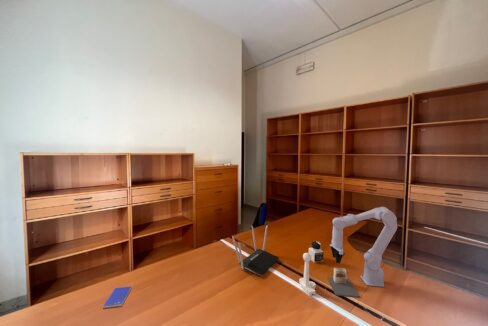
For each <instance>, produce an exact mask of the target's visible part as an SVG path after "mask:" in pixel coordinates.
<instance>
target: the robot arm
mask: <svg viewBox="0 0 488 326" xmlns="http://www.w3.org/2000/svg"><path fill="white" fill-rule="evenodd" d="M369 219H376V220H378V221H380V220H381V221H382V223H383V225H384V226H383V228H382V230H381V232H380V234H379V235H378V236H377V239H376V240H375V242H374V243H373V246H372V247H371V248H369V249H368V251H366V252H364V254H363V259H364V260H365V261H364V265H363V275H360V279H361V280H362V282H364V284H365V285H366V286H369V287H370V286H371V287H381V288H382V287H385V272H384V269H383V268H382V267H381V263H382V260H383V258H382V257H383V256H382V255H383V254H384V252H385V250H386V249H387V247H388V245H389V243H390V241H391V240H392V238H393V236H394V235H395V233H396V232H397V229H398V222H397V221H398V220H397V219H398V218H397V216H396V215H395V213H394V212H393V211H391V210H390V209H389V208H387V207H386V206H379V207H374V208H373V209H369V210H368V211H364V212H360V213H358V214H353V213H347V215H344V216H339V217H334V218H333V219H332V238H331V243H330V244H329V247H330V249H331V254H332V258H334V259H335V262H336V263H337V264H341V262H342V258H343V257H344V256H345V252H344V247H343V245H344V244H343V242H344V240H343V239H344V228H347V227H349V226H354V225H357V224H358V223H359V222H360V221H363V220H369Z"/></svg>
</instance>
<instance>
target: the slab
mask: <svg viewBox="0 0 488 326" xmlns="http://www.w3.org/2000/svg"><path fill="white" fill-rule="evenodd" d="M347 274H348V273H347V270H346V268H345V267H344V268H341V267H333V277H332V278H333V280H334V282H335V283H345V284H346V279H347Z"/></svg>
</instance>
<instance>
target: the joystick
mask: <svg viewBox="0 0 488 326" xmlns="http://www.w3.org/2000/svg"><path fill="white" fill-rule="evenodd" d="M302 259H303V261H304V269H303V277H300V278H299V280H298V282H299V285H300V288H301V290H302V291H303V292H304V293H305V294H306V295H307V296H309V297H311V296H313V295H316V290H315V289H316V283H315V282H313V281H311V280H310V262H311V261H312V260H311V255H310V254H309V252H304V253H303V255H302Z"/></svg>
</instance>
